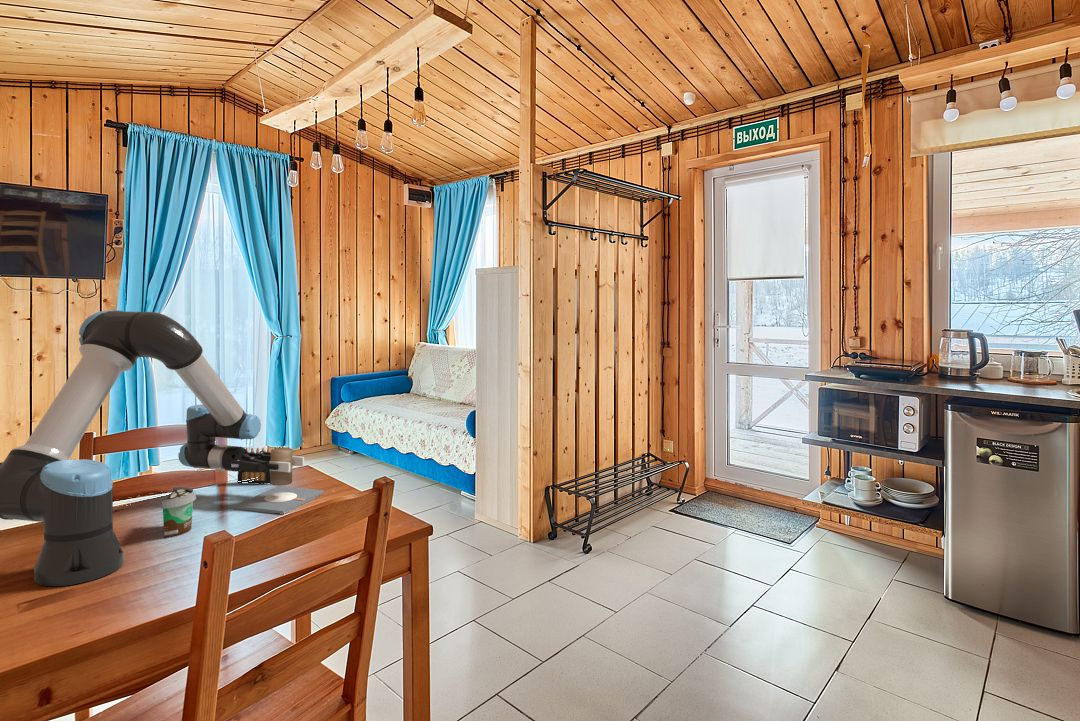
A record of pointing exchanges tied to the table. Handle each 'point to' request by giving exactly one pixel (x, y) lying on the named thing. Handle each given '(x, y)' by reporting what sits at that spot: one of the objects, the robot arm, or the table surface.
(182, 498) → the food container
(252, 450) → the ammunition clip
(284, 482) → the brown cylinder
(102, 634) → the table surface
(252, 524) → the table surface
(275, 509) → the seat board
